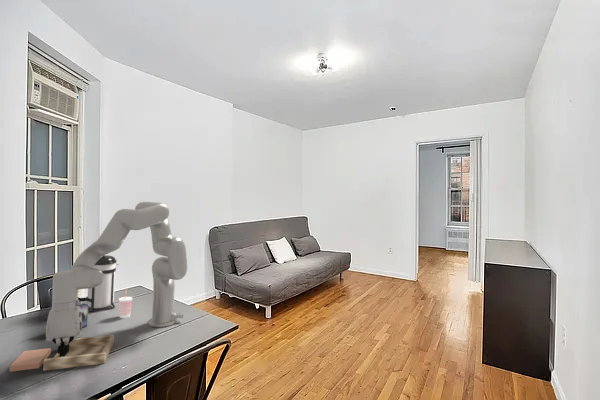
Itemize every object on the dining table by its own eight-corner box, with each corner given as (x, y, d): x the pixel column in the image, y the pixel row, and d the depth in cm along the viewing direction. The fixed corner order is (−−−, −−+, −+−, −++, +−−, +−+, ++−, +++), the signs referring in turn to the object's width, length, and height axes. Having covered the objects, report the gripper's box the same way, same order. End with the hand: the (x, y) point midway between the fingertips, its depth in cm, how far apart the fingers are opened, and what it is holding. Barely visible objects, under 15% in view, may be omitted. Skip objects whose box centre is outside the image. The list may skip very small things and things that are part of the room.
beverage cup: (128, 313, 162) (129, 286, 162) (133, 316, 158) (135, 288, 158) (115, 316, 157) (117, 288, 157) (120, 319, 153) (122, 291, 153)
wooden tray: (113, 345, 128) (114, 334, 128) (104, 365, 113) (104, 353, 113) (60, 350, 122) (60, 339, 122) (43, 372, 107) (43, 360, 107)
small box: (66, 336, 134) (67, 311, 134) (54, 334, 135) (55, 309, 135) (88, 326, 144) (89, 303, 144) (76, 324, 146) (77, 302, 146)
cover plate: (50, 356, 118) (51, 348, 118) (38, 371, 108) (39, 362, 108) (24, 359, 116) (24, 351, 115) (9, 375, 105) (9, 366, 105)
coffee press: (97, 301, 176) (99, 248, 176) (123, 304, 174) (125, 250, 174) (70, 312, 159) (72, 253, 159) (98, 315, 157) (101, 255, 157)
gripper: (91, 300, 121) (90, 347, 122) (44, 303, 116) (42, 352, 117) (85, 307, 114) (84, 357, 115) (35, 310, 109) (33, 363, 109)
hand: (63, 354), depth 116 cm, fingers closed
